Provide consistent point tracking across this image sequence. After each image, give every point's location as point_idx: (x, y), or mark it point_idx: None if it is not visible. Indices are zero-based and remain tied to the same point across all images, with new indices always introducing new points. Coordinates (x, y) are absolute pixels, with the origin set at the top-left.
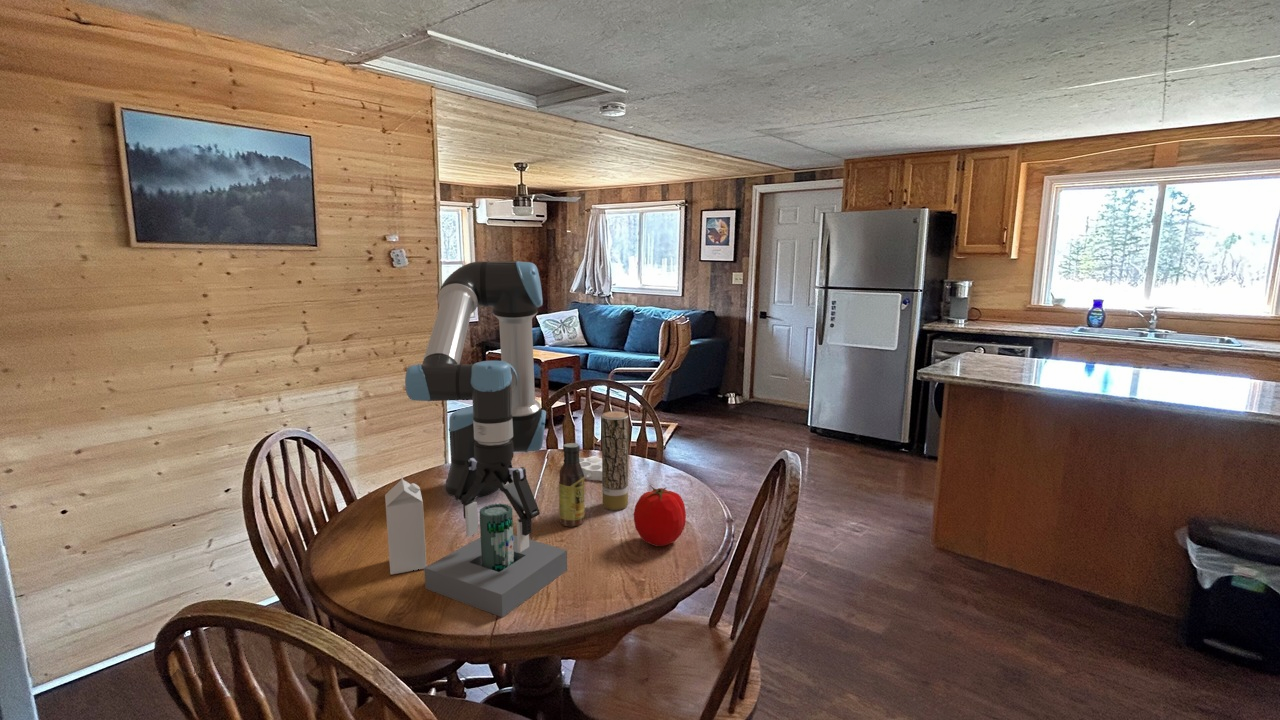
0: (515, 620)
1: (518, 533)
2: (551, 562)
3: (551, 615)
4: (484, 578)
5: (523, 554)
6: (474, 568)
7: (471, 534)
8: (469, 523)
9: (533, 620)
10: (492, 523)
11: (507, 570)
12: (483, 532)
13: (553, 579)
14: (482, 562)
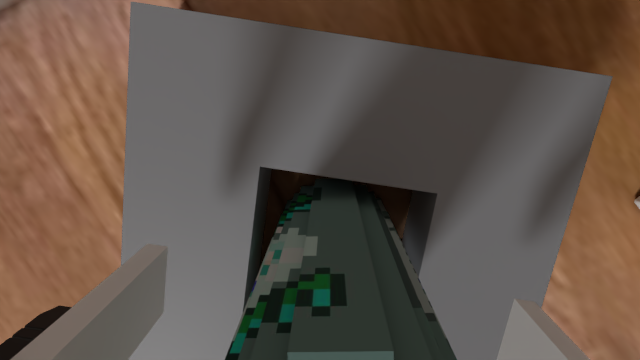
0: (124, 23)
1: (96, 299)
2: None
3: (36, 96)
4: (286, 95)
5: None
6: (381, 155)
7: (511, 319)
8: (553, 355)
9: (70, 47)
10: (294, 312)
11: (236, 191)
12: (383, 274)
13: None
14: (381, 216)
